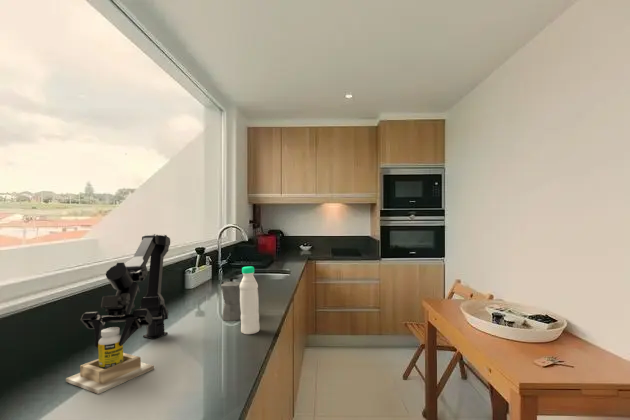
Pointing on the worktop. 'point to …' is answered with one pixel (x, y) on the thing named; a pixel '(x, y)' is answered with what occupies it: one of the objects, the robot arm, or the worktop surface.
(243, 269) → the water bottle
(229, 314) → the coffeepot
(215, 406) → the worktop surface
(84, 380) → the socket
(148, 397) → the worktop surface
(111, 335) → the pill bottle
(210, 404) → the worktop surface
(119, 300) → the robot arm
